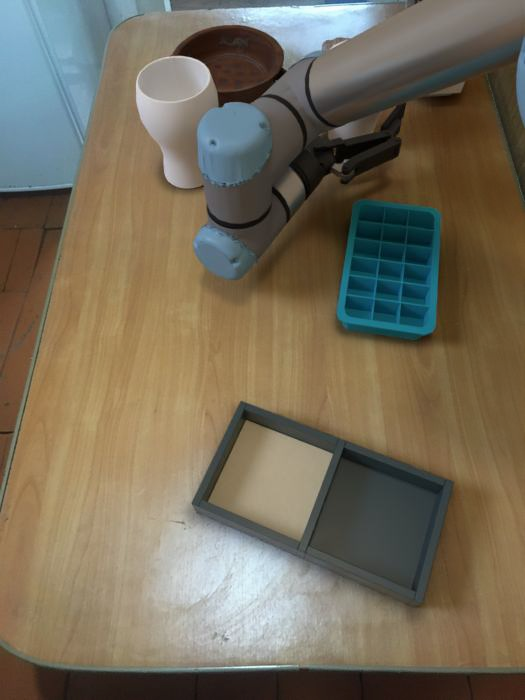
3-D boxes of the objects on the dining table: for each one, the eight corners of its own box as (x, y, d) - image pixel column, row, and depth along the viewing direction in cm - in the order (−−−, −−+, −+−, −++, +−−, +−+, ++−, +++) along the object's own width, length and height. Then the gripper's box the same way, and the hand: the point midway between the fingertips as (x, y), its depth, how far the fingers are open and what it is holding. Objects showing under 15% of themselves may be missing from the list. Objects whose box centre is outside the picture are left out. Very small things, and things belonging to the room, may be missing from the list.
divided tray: (444, 491, 58) (454, 481, 55) (414, 607, 53) (422, 604, 50) (242, 413, 63) (240, 400, 60) (195, 512, 58) (190, 503, 55)
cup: (147, 193, 81) (121, 102, 68) (163, 143, 86) (142, 50, 73) (218, 199, 80) (206, 108, 67) (230, 148, 85) (222, 55, 72)
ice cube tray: (436, 224, 76) (441, 208, 74) (428, 348, 67) (435, 335, 64) (352, 213, 78) (354, 198, 75) (333, 334, 68) (335, 321, 65)
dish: (185, 44, 98) (180, 16, 94) (305, 61, 95) (307, 32, 91) (150, 106, 90) (144, 78, 86) (281, 127, 87) (281, 99, 83)
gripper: (208, 170, 78) (286, 87, 87) (365, 240, 71) (433, 143, 80) (201, 125, 72) (286, 41, 80) (374, 198, 65) (447, 97, 73)
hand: (360, 92), depth 80 cm, fingers open, 13 cm apart
